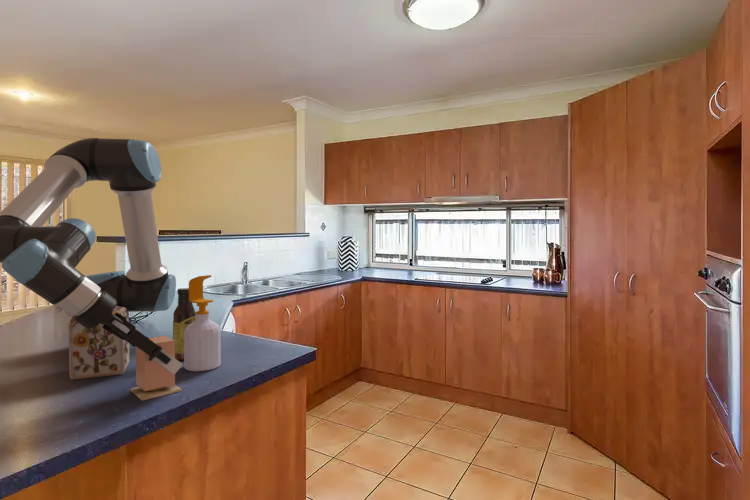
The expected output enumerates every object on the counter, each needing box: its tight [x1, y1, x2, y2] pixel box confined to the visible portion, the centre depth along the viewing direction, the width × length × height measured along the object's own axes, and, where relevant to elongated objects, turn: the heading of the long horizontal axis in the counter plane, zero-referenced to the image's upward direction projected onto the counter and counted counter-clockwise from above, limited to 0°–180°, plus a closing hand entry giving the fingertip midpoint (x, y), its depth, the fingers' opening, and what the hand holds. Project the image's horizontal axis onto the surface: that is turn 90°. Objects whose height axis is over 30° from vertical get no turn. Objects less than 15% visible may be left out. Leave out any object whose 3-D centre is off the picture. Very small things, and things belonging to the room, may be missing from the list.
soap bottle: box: [183, 274, 222, 373], centre depth 113 cm, size 9×9×25 cm
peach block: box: [134, 335, 176, 391], centre depth 95 cm, size 6×6×10 cm
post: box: [130, 383, 182, 401], centre depth 95 cm, size 8×8×7 cm
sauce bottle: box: [172, 287, 196, 361], centre depth 121 cm, size 6×6×20 cm
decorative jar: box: [68, 306, 131, 381], centre depth 109 cm, size 12×12×18 cm
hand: (172, 365), depth 98 cm, fingers closed on peach block, 6 cm apart
